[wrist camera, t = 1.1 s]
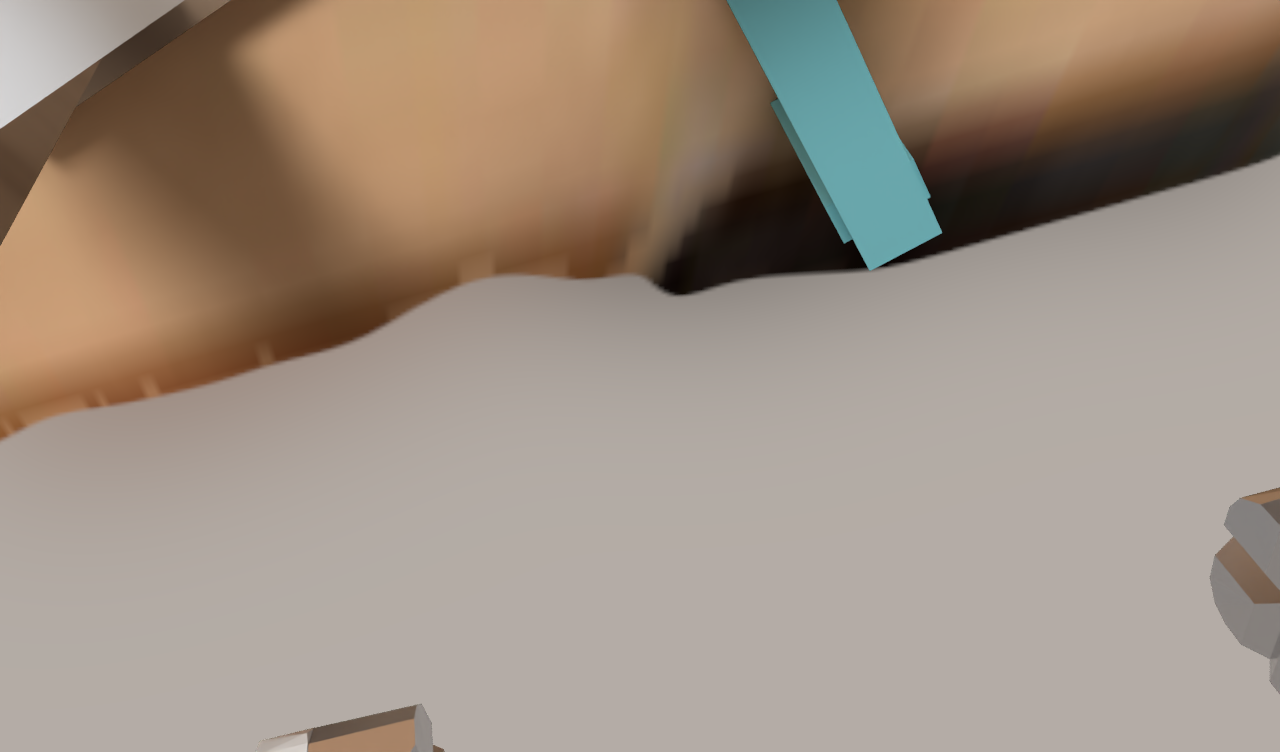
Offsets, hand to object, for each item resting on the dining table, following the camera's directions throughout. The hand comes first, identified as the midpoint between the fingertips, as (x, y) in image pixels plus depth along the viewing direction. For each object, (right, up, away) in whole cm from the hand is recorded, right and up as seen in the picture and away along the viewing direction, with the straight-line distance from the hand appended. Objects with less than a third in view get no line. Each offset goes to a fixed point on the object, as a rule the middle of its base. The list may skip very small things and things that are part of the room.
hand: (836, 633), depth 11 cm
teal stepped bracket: (+2, +16, +26) cm, 30 cm away
